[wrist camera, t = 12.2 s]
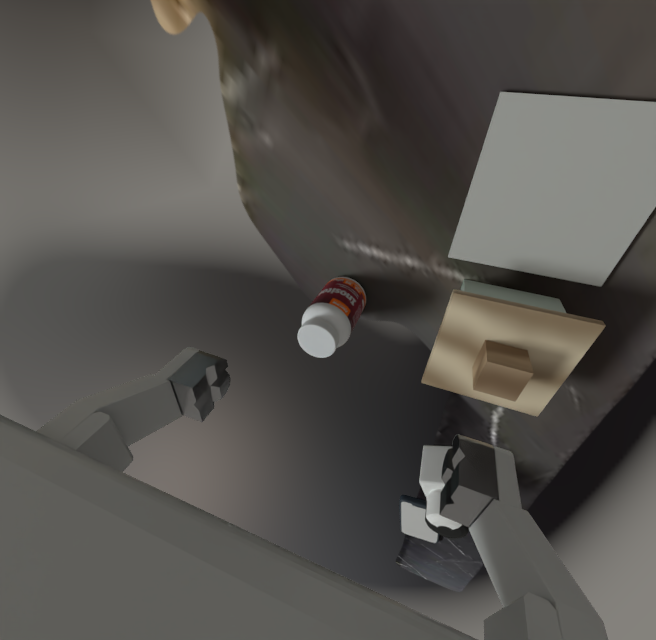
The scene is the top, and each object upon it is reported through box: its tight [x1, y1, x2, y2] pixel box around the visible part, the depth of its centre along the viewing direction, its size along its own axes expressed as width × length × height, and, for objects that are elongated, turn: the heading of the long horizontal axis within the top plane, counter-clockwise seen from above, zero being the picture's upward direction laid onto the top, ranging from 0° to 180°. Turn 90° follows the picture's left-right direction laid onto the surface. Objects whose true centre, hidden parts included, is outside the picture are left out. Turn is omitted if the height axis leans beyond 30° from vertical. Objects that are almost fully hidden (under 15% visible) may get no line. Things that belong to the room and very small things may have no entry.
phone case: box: [399, 495, 439, 543], centre depth 68 cm, size 9×2×16 cm
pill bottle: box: [298, 277, 366, 358], centre depth 39 cm, size 6×6×11 cm
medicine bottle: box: [419, 445, 468, 538], centre depth 50 cm, size 7×7×12 cm
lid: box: [422, 289, 606, 417], centre depth 31 cm, size 13×13×4 cm
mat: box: [448, 92, 656, 287], centre depth 29 cm, size 15×15×1 cm
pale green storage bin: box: [460, 279, 566, 313], centre depth 35 cm, size 10×10×6 cm
